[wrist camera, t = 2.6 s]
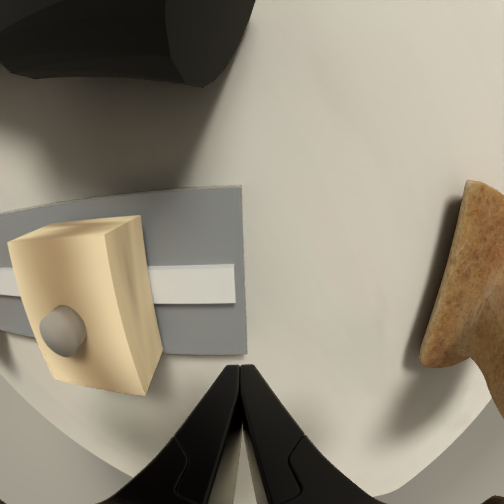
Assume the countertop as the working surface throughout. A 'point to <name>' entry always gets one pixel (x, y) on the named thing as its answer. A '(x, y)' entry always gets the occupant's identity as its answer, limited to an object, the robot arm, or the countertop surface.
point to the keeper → (90, 301)
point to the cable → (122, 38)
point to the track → (161, 262)
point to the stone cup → (472, 292)
